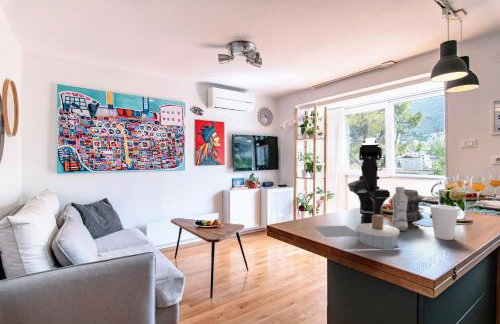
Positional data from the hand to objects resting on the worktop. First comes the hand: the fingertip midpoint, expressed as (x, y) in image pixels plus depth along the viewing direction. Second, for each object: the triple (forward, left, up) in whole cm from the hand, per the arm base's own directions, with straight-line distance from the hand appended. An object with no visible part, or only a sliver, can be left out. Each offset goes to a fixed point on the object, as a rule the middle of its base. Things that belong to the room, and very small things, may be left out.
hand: (369, 211), depth 106 cm
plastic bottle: (-21, -11, -12) cm, 26 cm away
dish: (-1, +5, -12) cm, 13 cm away
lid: (0, +5, -7) cm, 8 cm away
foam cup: (-33, 0, -12) cm, 35 cm away
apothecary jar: (-29, -17, -12) cm, 35 cm away
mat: (+9, -11, -12) cm, 18 cm away
